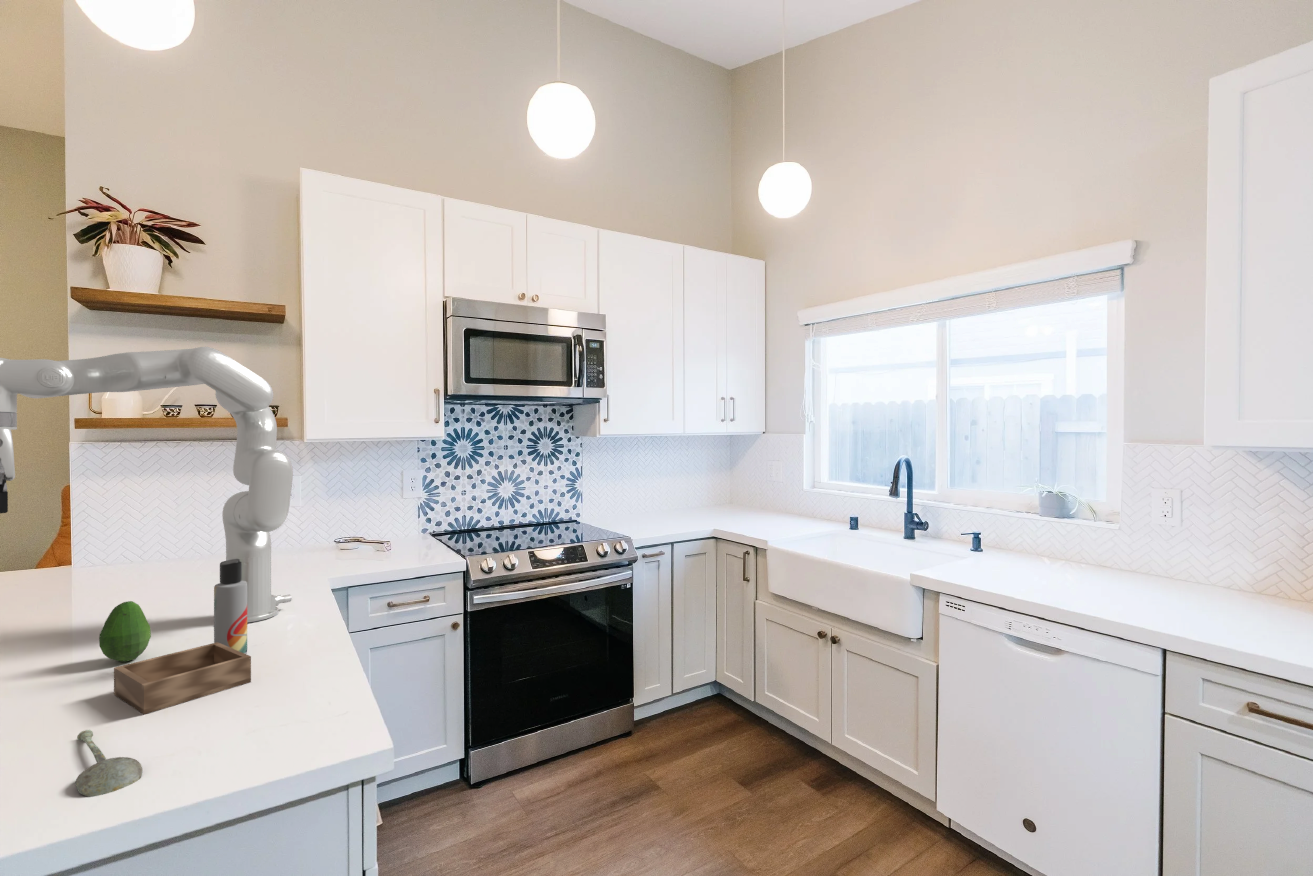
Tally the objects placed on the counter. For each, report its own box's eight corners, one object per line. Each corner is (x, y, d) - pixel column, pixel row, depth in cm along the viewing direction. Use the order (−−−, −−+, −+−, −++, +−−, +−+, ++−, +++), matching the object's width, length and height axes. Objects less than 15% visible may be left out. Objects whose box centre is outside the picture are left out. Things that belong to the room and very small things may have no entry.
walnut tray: (217, 666, 122) (217, 642, 122) (250, 682, 115) (250, 656, 114) (113, 694, 109) (113, 667, 109) (144, 714, 101) (143, 685, 101)
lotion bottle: (253, 654, 129) (253, 558, 129) (224, 663, 124) (224, 564, 124) (236, 649, 131) (236, 556, 131) (207, 658, 126) (207, 561, 126)
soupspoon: (79, 812, 77) (146, 792, 82) (81, 785, 77) (148, 766, 82) (55, 747, 91) (114, 733, 96) (57, 724, 91) (115, 712, 96)
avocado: (143, 651, 131) (143, 594, 131) (156, 659, 126) (156, 600, 126) (93, 662, 124) (93, 603, 124) (105, 671, 120) (105, 609, 119)
